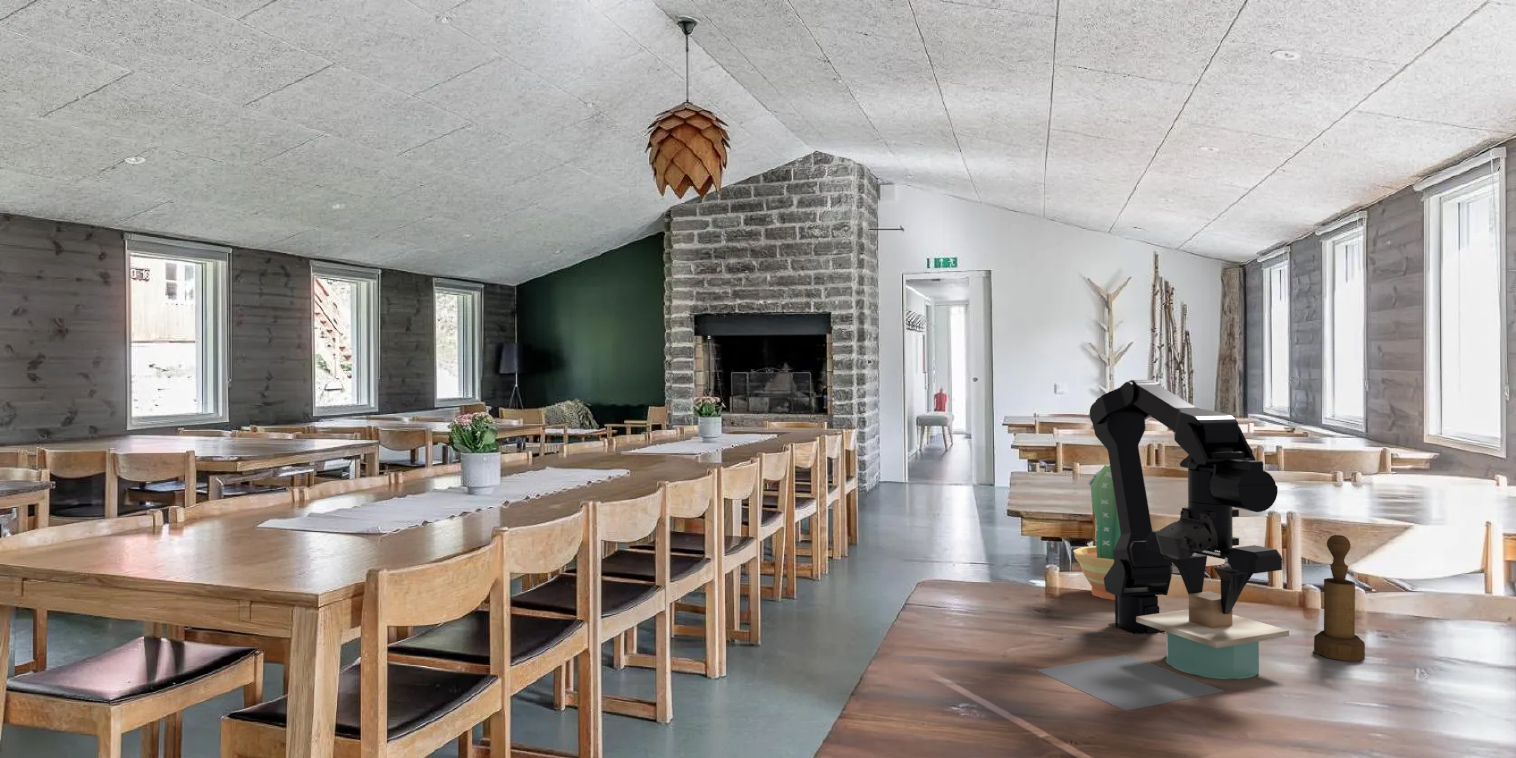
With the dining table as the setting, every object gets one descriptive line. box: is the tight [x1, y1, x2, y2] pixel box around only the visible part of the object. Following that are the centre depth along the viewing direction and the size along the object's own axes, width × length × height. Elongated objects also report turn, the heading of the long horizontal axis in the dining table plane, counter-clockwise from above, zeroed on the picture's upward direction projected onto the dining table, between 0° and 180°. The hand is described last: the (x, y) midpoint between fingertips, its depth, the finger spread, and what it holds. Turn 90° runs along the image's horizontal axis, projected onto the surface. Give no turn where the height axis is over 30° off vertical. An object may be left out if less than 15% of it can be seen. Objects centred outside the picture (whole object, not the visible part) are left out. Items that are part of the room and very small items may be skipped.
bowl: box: [1165, 632, 1260, 680], centre depth 130 cm, size 12×12×6 cm
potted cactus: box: [1073, 464, 1121, 601], centre depth 174 cm, size 15×15×25 cm
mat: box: [1035, 654, 1225, 712], centre depth 124 cm, size 17×17×1 cm
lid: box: [1136, 590, 1290, 648], centre depth 130 cm, size 14×14×5 cm
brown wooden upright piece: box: [1313, 534, 1366, 662], centre depth 136 cm, size 7×6×18 cm
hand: (1210, 609), depth 130 cm, fingers open, 5 cm apart
